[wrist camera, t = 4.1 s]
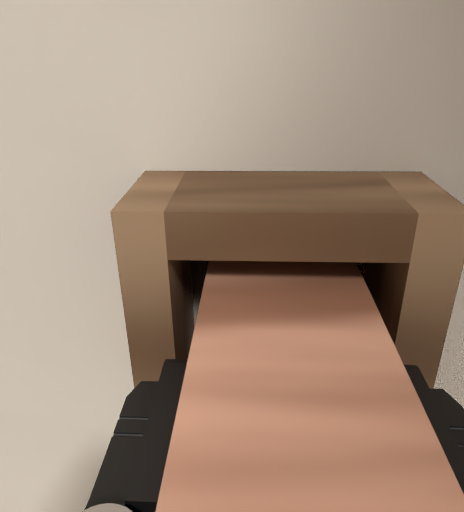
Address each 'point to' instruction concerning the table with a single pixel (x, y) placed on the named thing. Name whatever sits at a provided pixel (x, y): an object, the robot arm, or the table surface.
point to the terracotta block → (299, 401)
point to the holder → (288, 248)
